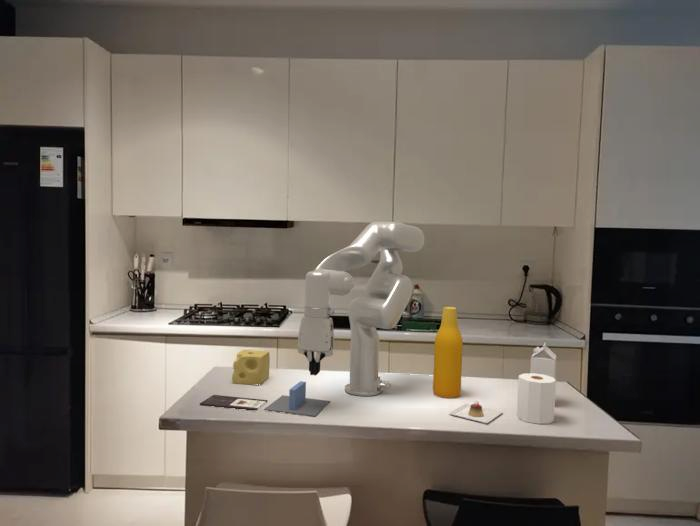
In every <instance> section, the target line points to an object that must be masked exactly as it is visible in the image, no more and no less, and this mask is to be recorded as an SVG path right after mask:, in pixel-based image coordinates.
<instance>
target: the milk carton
mask: <svg viewBox="0 0 700 526" xmlns="http://www.w3.org/2000/svg"><path fill="white" fill-rule="evenodd" d="M546 343H547V342H546V341H545V342H544V343H543V346H542V347H539V346H536V347H535V348H533V350H532V351H533V353H532V355H531V357H530V370H529V371H530V373H535V374H543V375H547V376H550V377H553V378H554V379H555V380H556V373H557V372H556V369H557V354H555V353H554V352H553V351H552V350H551V348H549V347H548V346H547V344H546Z"/></svg>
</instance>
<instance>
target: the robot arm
mask: <svg viewBox="0 0 700 526" xmlns="http://www.w3.org/2000/svg"><path fill="white" fill-rule="evenodd" d="M424 245H425V235H424V232H423V230H422V229H421V228H419V227H417V226H414V225H410V224H406V223H403V222H398V221H373V222H370V223H369V224H368V225H367V226H366V227H364V229H363V230H362V231H361V232H360V233H359V235H357V236H356V238H355V239H354V240H353V241H352V242H351V244H349V245H348V246H346V247H344V248H341V249H340V250H338V251H336V252H334V253H332V254H330V255H328V256H327V257H325V258H324V259H323V260H322V261H321V262H320V263H319V264H318V265H317V266H316V267H315V269H313V270H312V271H308V272H307V273H306V274H305V284H304V285H305V290H304V308H303V309H304V311H303V316H302V317H301V320H300V325H299V329H298V338H297V348H298V349H297V353H298V354H300V355H304V356H305V358H306V359H307V361H308V372H309V375H310V376H317V375H318V374H319V373H320V371H321V361H322V360H323V359H324V358H328V357H333V355H334V352H333V349H334V348H335V331H334V321H333V318H332V317H330V316H334V315H335V310H334V309H333V310H332V309H331V295H334V296H346V295H348V294H350V293H351V292H352V291H353V290H354V286H355V279H354V278H353V276H352V275H351V274H350V273H349V272H347V271H350V270H354V269H359V268H361V267H364V266H367V265H369V264H370V263H371V261H372V260H374V258H375V256H376V255H377V254H378V253H380V258H379V259H380V260H379V262H378V264H377V266H376V267H375V269H374V271H373V273H372V275H371V277H369V280H368V282H367V284H366V288H365V291H366V294H367V296H358V297H355V298H354V299H352V300H351V301H350V303H349V306H348V311H347V312H348V320H349V324H350V325H349V326H350V357H349V383H347V384H346V385H345V386H344V391H345V392H346V393H347V394H350V395H354V396H358V397H359V396H360V397H371V396H377V395H380V394H381V393H383V389H385V390H390V389H391V386H392V385H391V383H390V382H389V381H387V380H385V381H384V380H381V376H379V367H380V365H379V361H380V360H379V359H380V336H379V333H378V330H377V329H378V328H379V329H382V330H383V329H384V330H390V329H391V330H392V329H393V328H394V327H396V325H398V323H399V321H400V319H401V317H402V316H403V313H404V311H405V310H406V308H407V306H408V304H409V302H410V300H411V297H412V293H413V283H412V281H411V279H410V277H409V276H407V275H404V274H402V272H403V268H404V267H403V261H402V260H401V257H400V255H399V253H398V252H409V253H413V252H416V253H417V252H419V251H420V250H421V249H422V248H423V246H424ZM315 352H316V354H315ZM315 355H316V356H315Z"/></svg>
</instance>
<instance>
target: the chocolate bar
mask: <svg viewBox="0 0 700 526" xmlns="http://www.w3.org/2000/svg"><path fill="white" fill-rule="evenodd" d="M265 402H266V403H268V400H267V399H260V398H259V399H258V398H249V397H240V396H229V395H222V394H213V395H211V396H209V397H208V398H206V399H204V400H203V401H202V402H200V403H199V406H203V407H211V406H215V407H214V408H220V407H224V408H223V409H230V408H235V409H234V410H239V409H246V410H245V411H249V410H257V409H258V408H259V407H260V408H262V407H263V406H264V405H265V404H266V403H265ZM264 403H265V404H264ZM263 404H264V405H263ZM262 405H263V406H262ZM261 406H262V407H261ZM260 408H259V409H260ZM259 409H258V410H259ZM258 410H257V411H258Z"/></svg>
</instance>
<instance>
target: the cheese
mask: <svg viewBox="0 0 700 526" xmlns="http://www.w3.org/2000/svg"><path fill="white" fill-rule="evenodd" d="M270 360H271V356H270V351H269V350H268V351H267V350H253V349H242V350H240V351H239V352H237V354H236V359H235V360H234V361H233V365H232V368H233V372H232V375H231V381H232V384H234V383H237V385H250V384H258V385H257V386H260V385H259V384H261V383H262V384H263V383H264V382H265V381H267V380H268V379H269V377H270V365H271V364H270V363H271V361H270ZM262 384H261V385H262Z"/></svg>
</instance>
